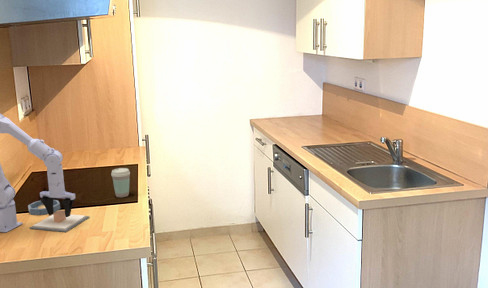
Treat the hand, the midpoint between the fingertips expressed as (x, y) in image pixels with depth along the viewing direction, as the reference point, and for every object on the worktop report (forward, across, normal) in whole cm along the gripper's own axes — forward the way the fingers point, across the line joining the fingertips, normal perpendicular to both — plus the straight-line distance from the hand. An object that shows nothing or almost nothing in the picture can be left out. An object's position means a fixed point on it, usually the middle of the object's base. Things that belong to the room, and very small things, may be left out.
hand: (59, 215), depth 198 cm
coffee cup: (+3, -7, -37) cm, 38 cm away
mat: (+3, 0, 0) cm, 3 cm away
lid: (+3, 0, 0) cm, 3 cm away
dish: (+3, +16, -12) cm, 20 cm away
